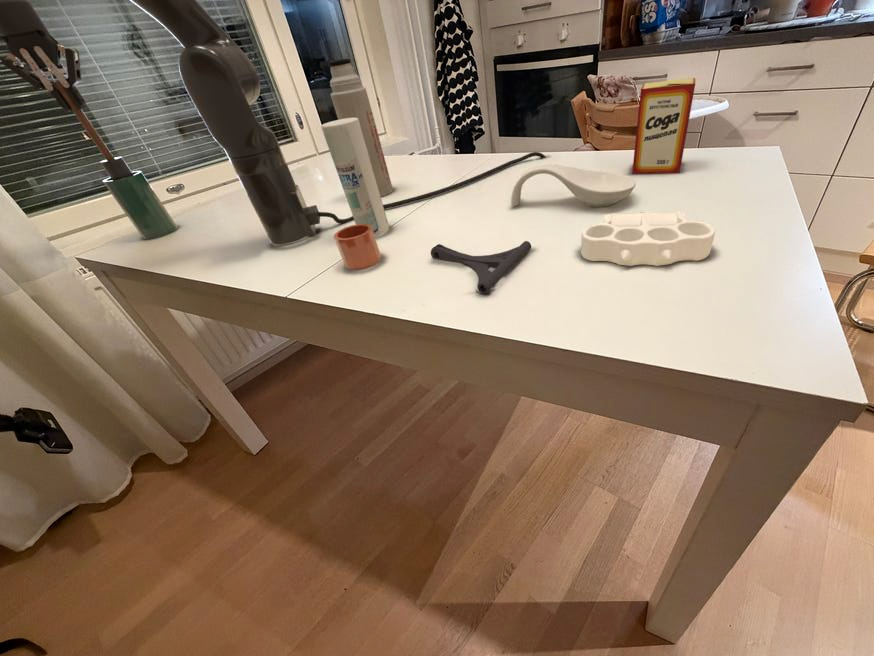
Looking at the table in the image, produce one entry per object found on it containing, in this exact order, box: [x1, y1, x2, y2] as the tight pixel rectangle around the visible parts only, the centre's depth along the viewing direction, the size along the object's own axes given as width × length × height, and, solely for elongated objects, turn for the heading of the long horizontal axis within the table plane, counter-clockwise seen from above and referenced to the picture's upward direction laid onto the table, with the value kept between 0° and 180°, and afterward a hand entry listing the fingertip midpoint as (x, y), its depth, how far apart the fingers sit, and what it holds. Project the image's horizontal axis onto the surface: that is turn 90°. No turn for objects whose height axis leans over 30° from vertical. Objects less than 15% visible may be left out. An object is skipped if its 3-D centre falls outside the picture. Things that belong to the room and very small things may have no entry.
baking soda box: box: [631, 77, 696, 175], centre depth 82 cm, size 10×6×16 cm
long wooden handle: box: [53, 80, 133, 180], centre depth 89 cm, size 4×4×22 cm
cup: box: [102, 170, 178, 240], centre depth 98 cm, size 8×8×14 cm
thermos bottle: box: [327, 58, 394, 198], centre depth 94 cm, size 8×8×28 cm
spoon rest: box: [510, 163, 637, 208], centre depth 76 cm, size 24×12×7 cm, turn 74°
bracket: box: [430, 240, 532, 295], centre depth 63 cm, size 14×15×3 cm
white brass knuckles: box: [580, 210, 716, 267], centre depth 59 cm, size 3×18×15 cm
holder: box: [333, 224, 382, 271], centre depth 68 cm, size 6×6×6 cm
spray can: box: [320, 118, 390, 237], centre depth 75 cm, size 6×6×20 cm
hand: (76, 109), depth 85 cm, fingers closed on long wooden handle, 1 cm apart
